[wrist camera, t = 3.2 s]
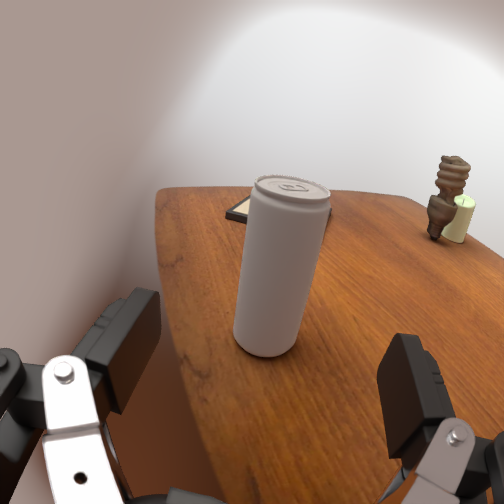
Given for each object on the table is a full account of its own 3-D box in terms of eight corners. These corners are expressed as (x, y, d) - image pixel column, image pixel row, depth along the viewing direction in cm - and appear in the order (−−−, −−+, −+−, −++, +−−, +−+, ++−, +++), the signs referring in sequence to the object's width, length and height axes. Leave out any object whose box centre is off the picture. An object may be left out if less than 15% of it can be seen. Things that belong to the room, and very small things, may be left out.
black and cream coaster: (224, 218, 45) (225, 210, 44) (257, 195, 56) (257, 188, 55) (317, 243, 41) (319, 234, 41) (330, 213, 52) (332, 207, 52)
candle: (458, 245, 49) (473, 202, 45) (436, 233, 52) (449, 191, 49) (465, 241, 52) (479, 201, 48) (445, 230, 55) (457, 191, 51)
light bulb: (452, 246, 48) (478, 164, 41) (435, 248, 46) (462, 158, 39) (430, 232, 52) (453, 153, 45) (412, 232, 50) (435, 148, 44)
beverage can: (225, 322, 26) (242, 172, 20) (280, 315, 27) (309, 176, 22) (243, 366, 22) (270, 198, 16) (304, 355, 23) (348, 201, 18)
